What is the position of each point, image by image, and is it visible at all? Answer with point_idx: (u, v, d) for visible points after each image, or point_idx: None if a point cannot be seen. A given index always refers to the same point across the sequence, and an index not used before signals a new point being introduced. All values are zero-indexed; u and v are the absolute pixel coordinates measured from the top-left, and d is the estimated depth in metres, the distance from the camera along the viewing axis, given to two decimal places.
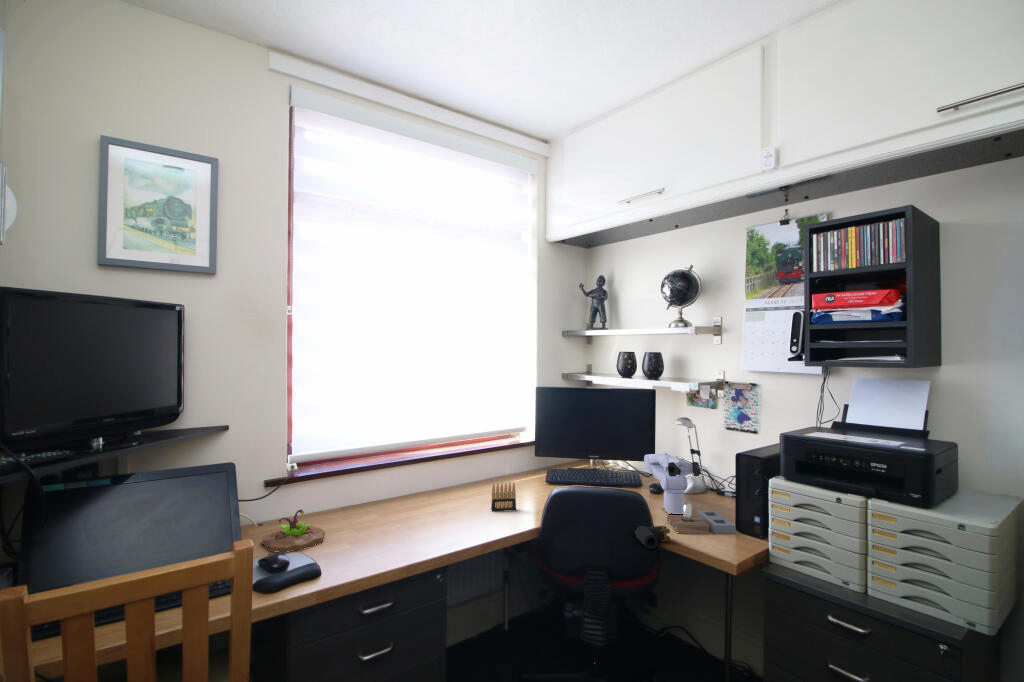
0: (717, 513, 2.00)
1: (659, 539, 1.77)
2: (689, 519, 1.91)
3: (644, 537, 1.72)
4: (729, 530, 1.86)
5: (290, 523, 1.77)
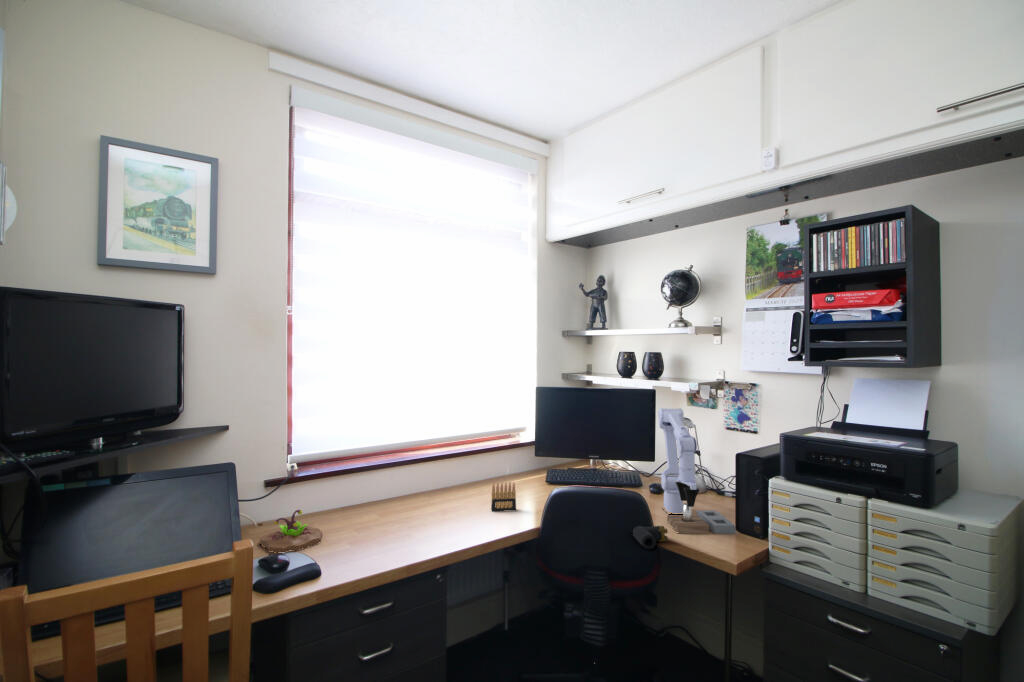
0: (717, 513, 2.00)
1: (657, 539, 1.77)
2: (689, 519, 1.91)
3: (642, 537, 1.72)
4: (729, 530, 1.86)
5: (288, 523, 1.77)
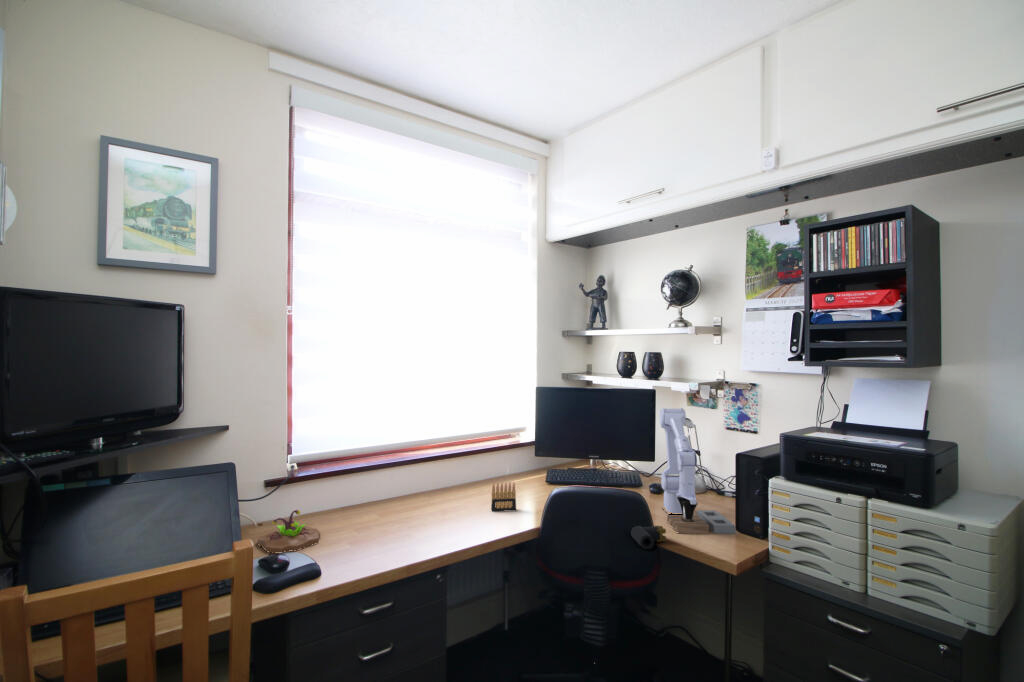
0: (717, 513, 2.00)
1: (655, 539, 1.77)
2: None
3: (640, 537, 1.72)
4: (729, 530, 1.86)
5: (285, 523, 1.77)
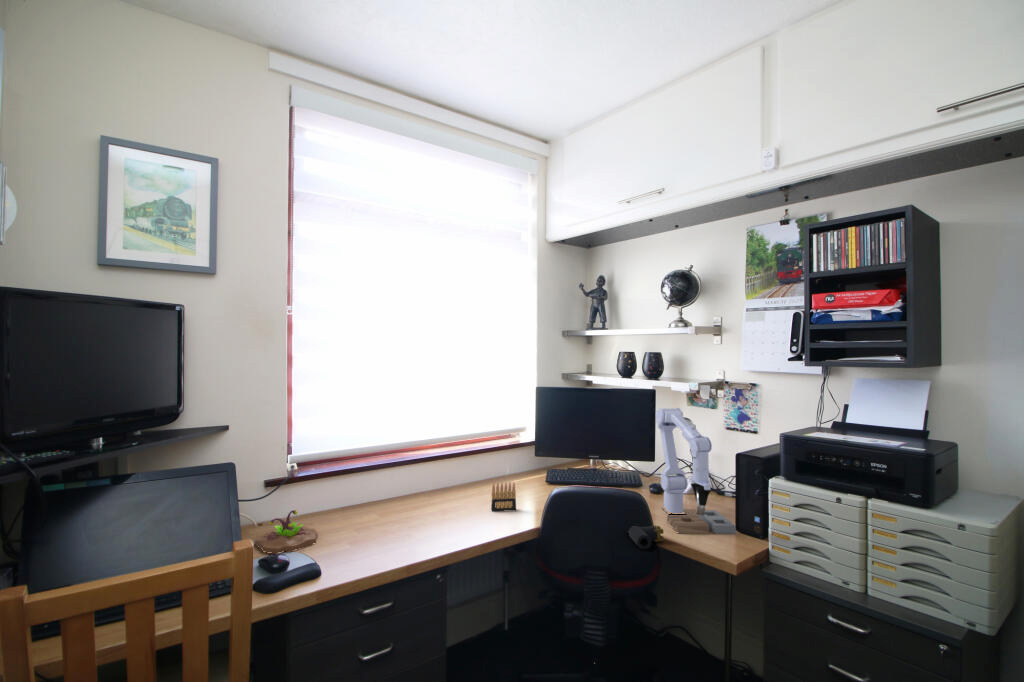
0: (717, 513, 2.00)
1: (652, 539, 1.77)
2: None
3: (637, 537, 1.72)
4: (729, 530, 1.86)
5: (283, 524, 1.76)
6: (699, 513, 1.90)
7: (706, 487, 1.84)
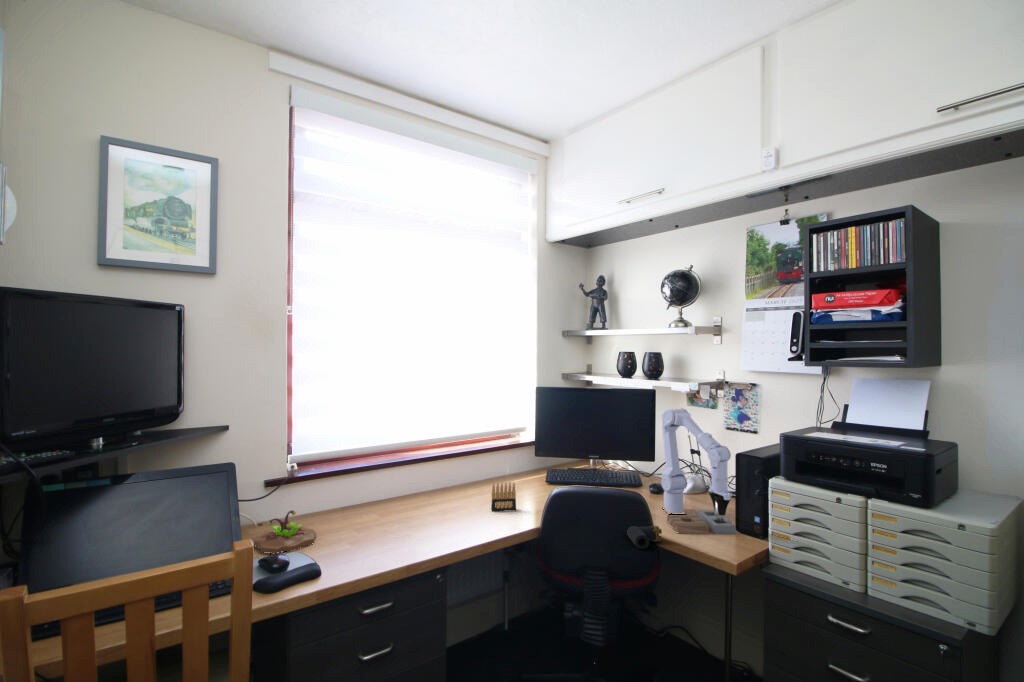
0: None
1: (651, 539, 1.77)
2: (721, 515, 1.89)
3: (635, 537, 1.72)
4: (729, 530, 1.86)
5: (281, 524, 1.76)
6: None
7: (726, 497, 1.83)
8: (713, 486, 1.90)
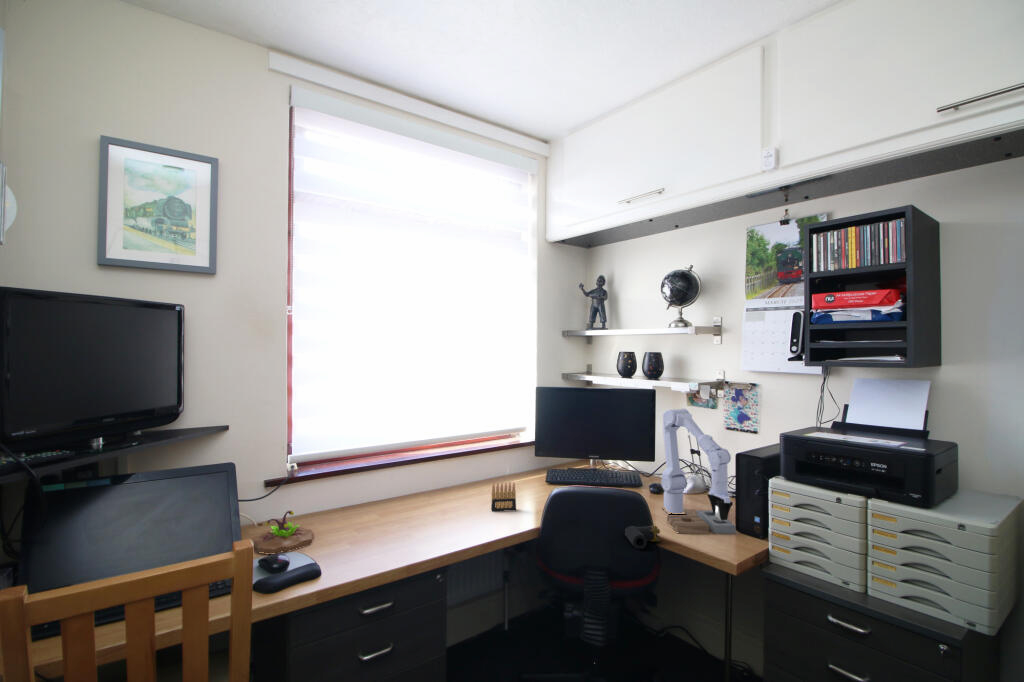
0: None
1: (649, 539, 1.77)
2: (721, 520, 1.89)
3: (633, 537, 1.72)
4: (729, 530, 1.86)
5: (279, 524, 1.76)
6: None
7: (726, 500, 1.83)
8: (713, 489, 1.90)
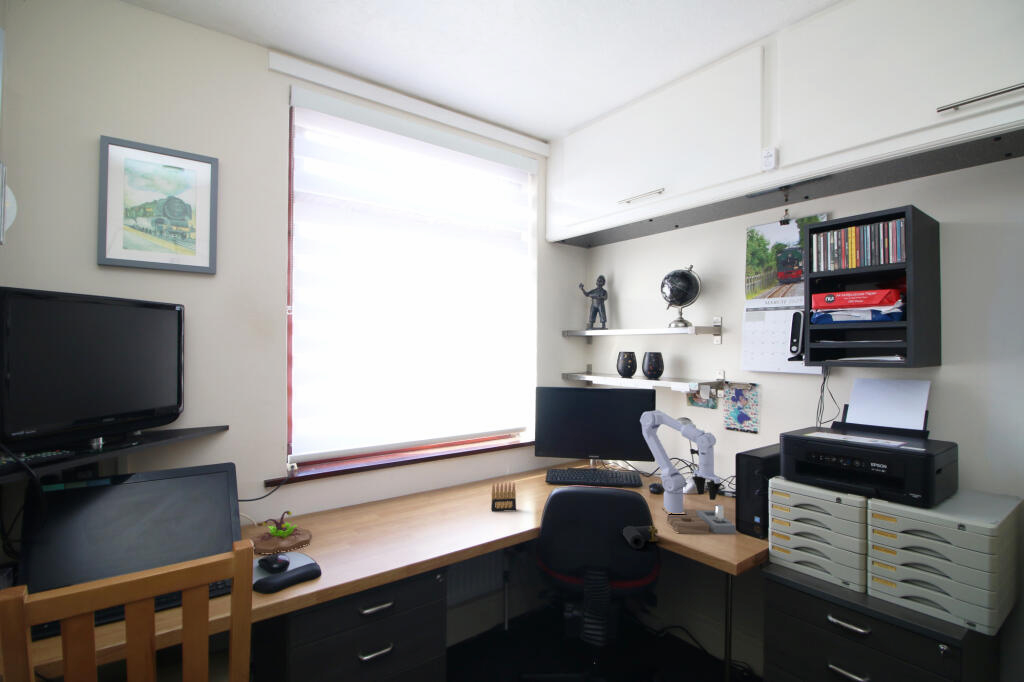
0: None
1: (647, 539, 1.77)
2: (721, 520, 1.89)
3: (630, 537, 1.72)
4: (729, 530, 1.86)
5: (276, 524, 1.76)
6: None
7: (717, 481, 1.94)
8: (701, 471, 2.00)
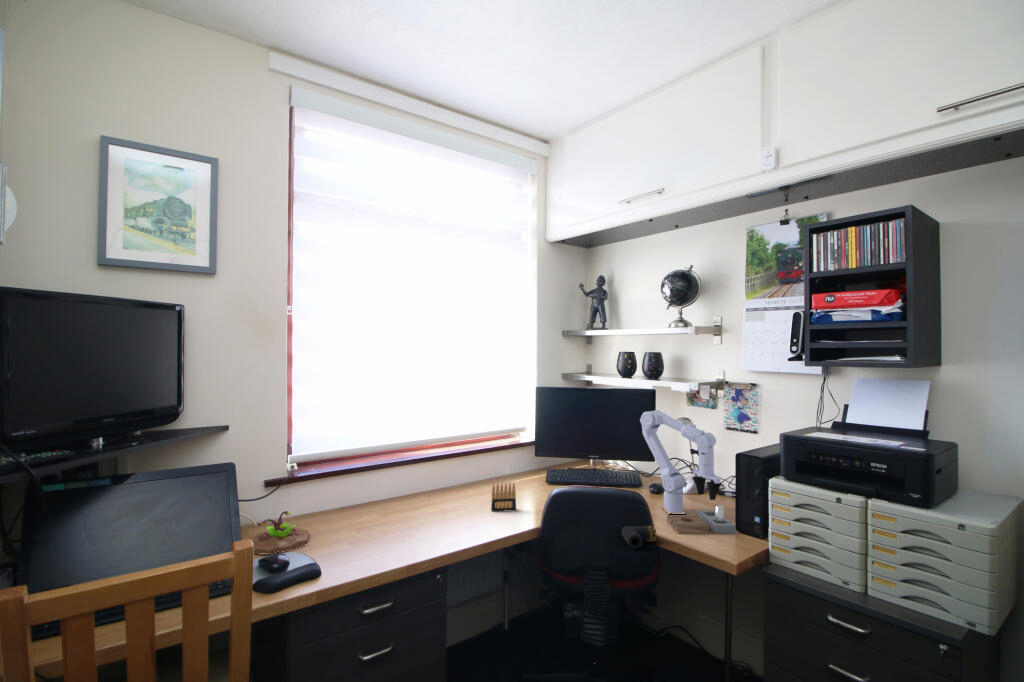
0: None
1: (645, 539, 1.77)
2: (721, 520, 1.89)
3: (628, 537, 1.73)
4: (729, 530, 1.86)
5: (275, 525, 1.76)
6: None
7: (717, 481, 1.94)
8: (701, 471, 2.00)
